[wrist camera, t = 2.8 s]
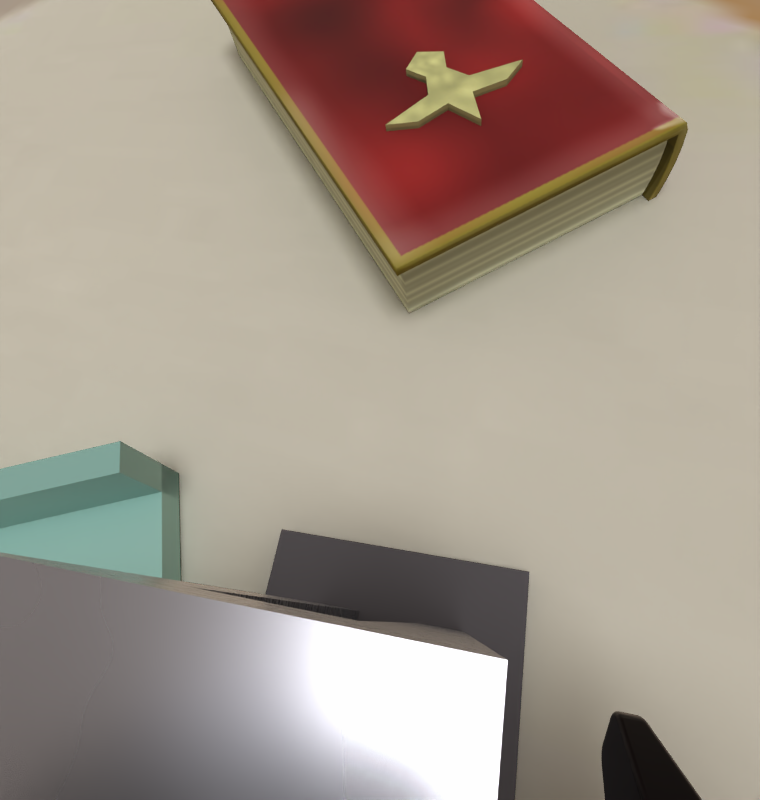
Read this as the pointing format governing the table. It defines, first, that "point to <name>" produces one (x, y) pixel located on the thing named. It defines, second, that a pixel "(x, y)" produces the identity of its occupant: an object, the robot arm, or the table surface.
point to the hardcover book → (454, 126)
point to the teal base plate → (94, 511)
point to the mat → (417, 604)
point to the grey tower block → (232, 695)
